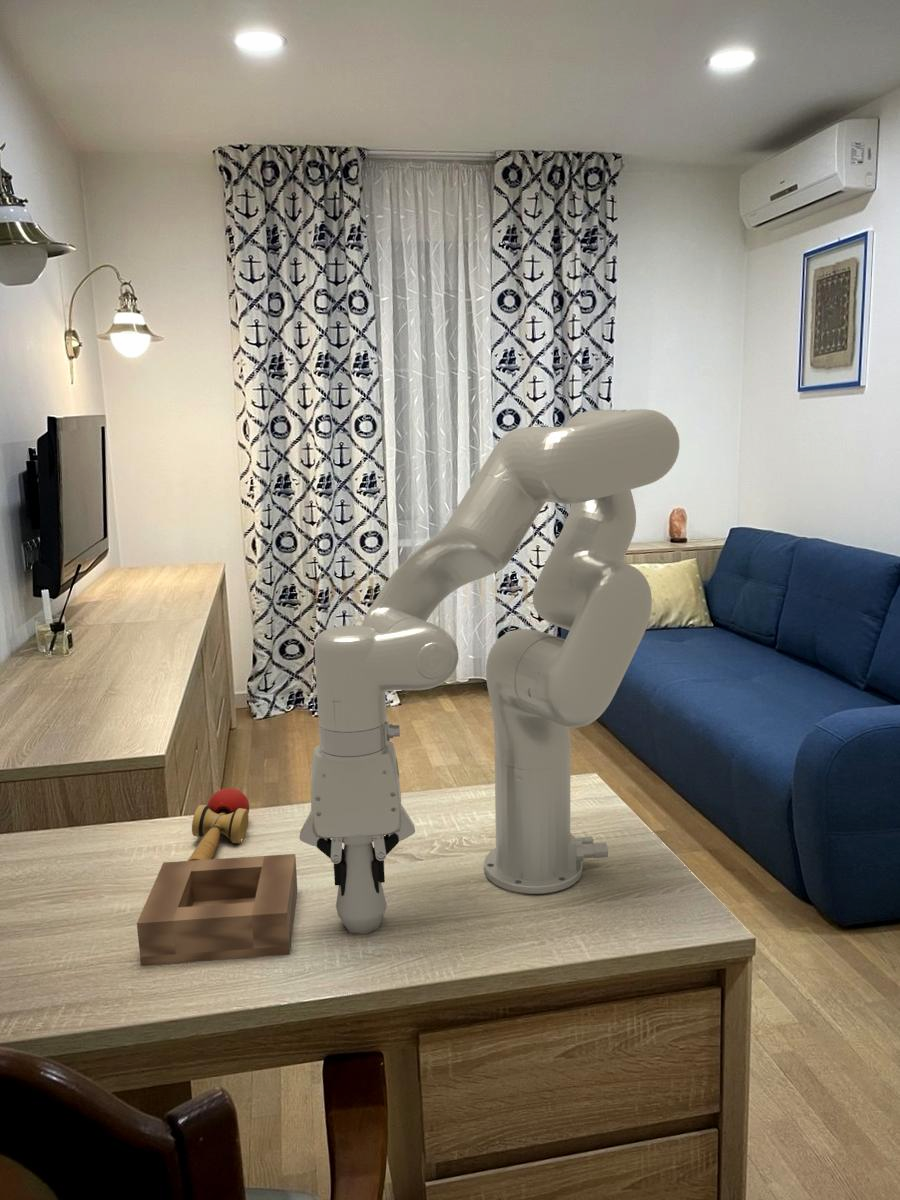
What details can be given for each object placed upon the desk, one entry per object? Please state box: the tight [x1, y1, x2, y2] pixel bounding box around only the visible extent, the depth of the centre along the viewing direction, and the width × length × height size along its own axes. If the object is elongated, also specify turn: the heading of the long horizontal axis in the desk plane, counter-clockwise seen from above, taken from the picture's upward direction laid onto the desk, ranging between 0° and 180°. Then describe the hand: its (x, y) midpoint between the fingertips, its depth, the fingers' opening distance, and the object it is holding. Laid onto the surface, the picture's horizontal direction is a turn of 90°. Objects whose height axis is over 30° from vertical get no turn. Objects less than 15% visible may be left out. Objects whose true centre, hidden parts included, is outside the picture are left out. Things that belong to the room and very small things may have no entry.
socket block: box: [136, 853, 298, 966], centre depth 109 cm, size 16×14×5 cm
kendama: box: [187, 787, 250, 861], centre depth 129 cm, size 8×6×18 cm
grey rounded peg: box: [335, 834, 387, 935], centre depth 107 cm, size 6×6×13 cm
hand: (360, 887), depth 108 cm, fingers closed on grey rounded peg, 3 cm apart
